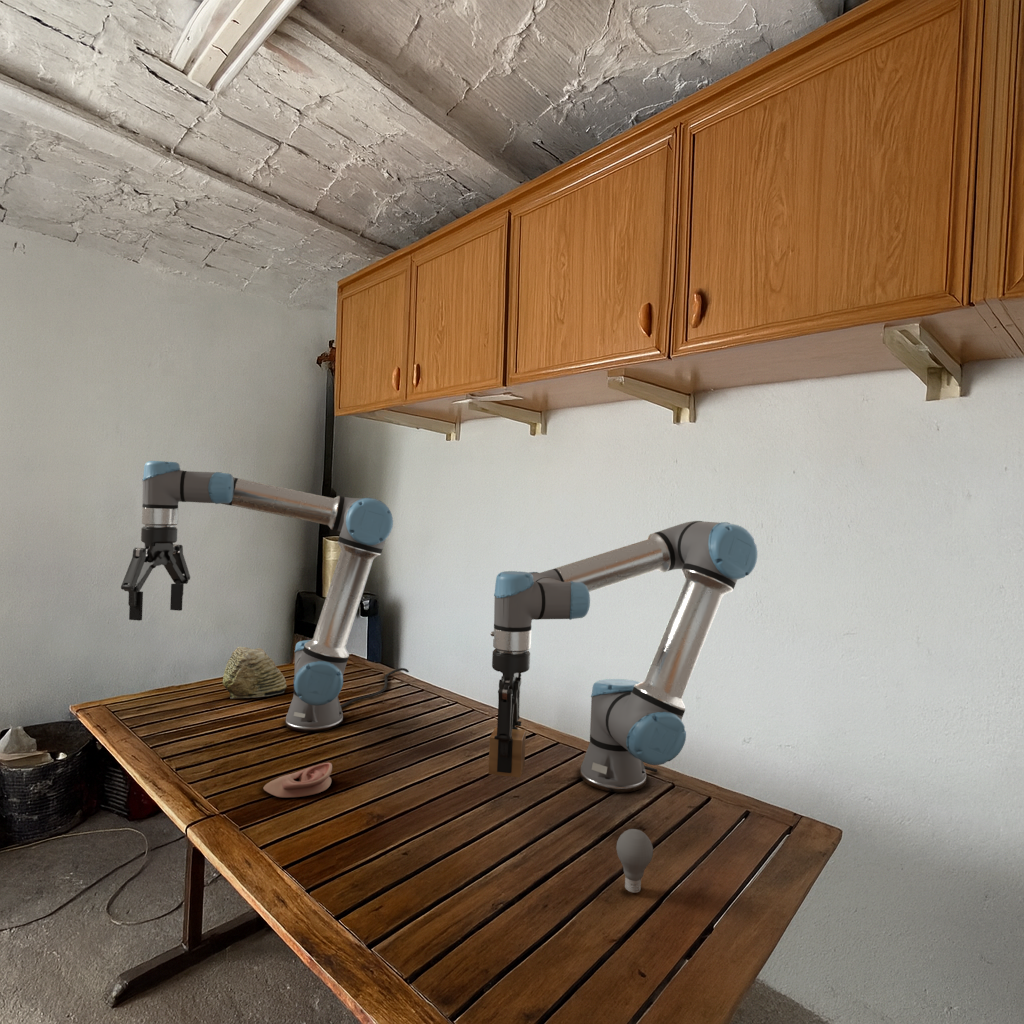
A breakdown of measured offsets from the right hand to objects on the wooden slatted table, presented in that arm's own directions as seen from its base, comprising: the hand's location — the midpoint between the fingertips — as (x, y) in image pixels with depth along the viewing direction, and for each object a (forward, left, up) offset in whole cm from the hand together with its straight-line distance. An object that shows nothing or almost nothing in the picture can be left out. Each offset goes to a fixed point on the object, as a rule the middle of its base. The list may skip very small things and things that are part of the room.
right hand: (507, 764), depth 126 cm
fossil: (+41, -99, -12) cm, 107 cm away
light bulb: (-10, +28, -12) cm, 32 cm away
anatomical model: (+36, -29, -12) cm, 48 cm away
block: (0, 0, -1) cm, 1 cm away
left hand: (+66, -59, +22) cm, 91 cm away
